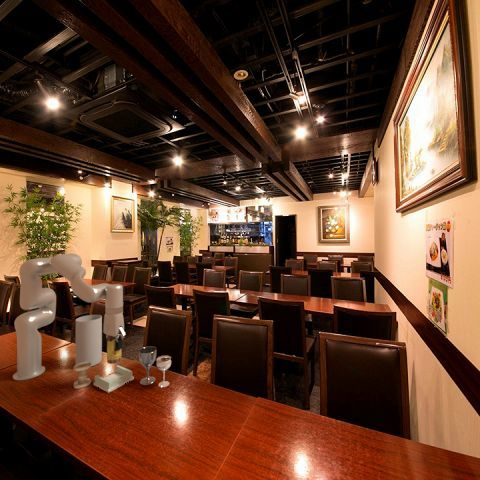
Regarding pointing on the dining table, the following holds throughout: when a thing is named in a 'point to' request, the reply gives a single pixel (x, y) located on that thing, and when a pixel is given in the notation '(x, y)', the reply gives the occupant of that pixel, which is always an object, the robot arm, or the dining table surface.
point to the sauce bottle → (112, 351)
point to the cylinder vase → (89, 339)
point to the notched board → (114, 379)
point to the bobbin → (82, 375)
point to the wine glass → (147, 362)
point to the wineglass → (163, 368)
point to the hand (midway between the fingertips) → (114, 347)
